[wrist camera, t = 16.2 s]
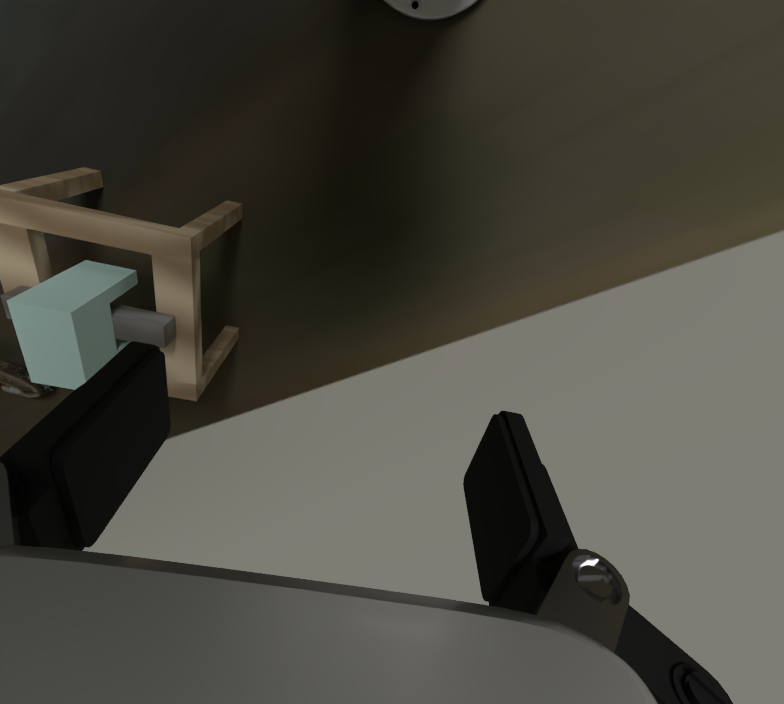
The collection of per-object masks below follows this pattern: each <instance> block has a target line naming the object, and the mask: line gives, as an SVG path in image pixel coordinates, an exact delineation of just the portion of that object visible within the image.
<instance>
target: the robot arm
mask: <svg viewBox="0 0 784 704" xmlns="http://www.w3.org/2000/svg"><path fill="white" fill-rule="evenodd" d="M383 1H384V2H385V3H386V4H387V5H388V6H390V7H391V8H393V9H394V10H396V11H397V12H399V13H401V14H402V15H405V16H408V17H411V18H414V19H418V20H428V21H433V20H440V19H446V18H449V17H451V16H454V15H456V14H459V13H461V12H463V11H464V10H466V9H467V8H469V7H470V6H472V5H473V4H475V3H476V2H477V1H478V0H383ZM413 2H417V3H418V8H417V9H413V8H412V3H413ZM169 431H170V412H169V400H168V388H167V375H166V363H165V355H164V353H163V352H161V351H159V348H158V347H157V346H156V345H153V344H147V343H142V342H137V341H132V342H130V343H129V344H127V345H126V346H125V347H124V348H123V349H122V350H121V351H120V352H119V353H118V354H116V355H115V356H114V357H113V358H112V359H111V360H110V361H109V362H108V363H106V364H105V365H104V366H103V367H102V368H101V369H100V370H99V371H98V372H96V373H95V374H94V375H93V376H92V377H91V378H90V379H89V380H88V381H87V382H85V383H84V384H82V385H81V386H79V387H78V388H77V389H76V390H74V391H73V392H72V393H71V394H70V395H69V396H68V397H67V398H65V399H64V400H63V401H62V402H61V403H60V404H59V405H58V406H57V407H55V408H54V409H53V410H52V411H51V412H50V413H49V414H48V415H47V416H45V417H44V418H43V419H42V420H41V421H40V422H39V423H38V424H37V425H35V426H34V427H33V428H32V429H31V430H30V431H29V432H28V433H27V434H25V435H24V436H23V437H22V438H21V439H20V440H19V441H18V442H16V443H15V444H14V445H13V446H12V447H11V448H10V449H9V450H8V451H6V452H5V453H4V454H3V455H2V456H1V457H0V704H733V703H732V701H731V700H730V698H729V696H728V694H727V693H726V692H725V690H724V689H723V688H722V686H721V685H720V684H719V682H718V681H717V680H716V679H715V678H714V677H713V676H712V675H711V674H710V673H709V672H708V671H707V670H705V669H704V668H703V667H702V666H700V665H699V664H698V663H697V662H696V661H695V660H694V659H692V658H691V657H690V656H689V655H688V654H687V653H685V652H684V651H683V650H682V649H681V648H679V647H678V646H677V645H676V644H674V642H672V641H671V640H670V639H669V638H668V637H666V636H665V635H664V634H663V633H662V632H661V631H659V630H658V629H657V628H656V627H655V626H653V625H652V624H651V623H650V622H649V621H647V620H646V619H645V618H644V617H643V616H642V615H640V614H639V613H638V612H637V611H636V610H634V609H633V608H632V607H631V606H630V605H629V597H630V595H629V591H628V587H627V585H626V583H625V581H624V579H623V577H622V575H621V574H620V573H619V572H618V571H617V569H616V568H615V567H614V566H613V565H612V564H611V563H610V562H608V561H607V560H606V559H605V558H603V557H602V556H600V555H599V554H597V553H595V552H592V551H589V550H587V549H578V547H577V544H576V542H575V539H574V537H573V534H572V532H571V529H570V527H569V524H568V522H567V519H566V517H565V514H564V512H563V509H562V507H561V504H560V502H559V499H558V497H557V494H556V492H555V489H554V487H553V485H552V482H551V479H550V477H549V475H548V472H547V470H546V468H545V466H544V465H543V464H542V463H541V460H540V458H539V456H538V453H537V450H536V448H535V445H534V443H533V440H532V438H531V435H530V433H529V430H528V428H527V425H526V423H525V420H524V418H523V416H522V415H521V414H517V413H512V412H507V411H501V412H500V413H499V414H498V415H496V414H494V415H493V417H492V418H491V420H490V423H489V425H488V427H487V429H486V431H485V433H484V435H483V437H482V440H481V442H480V444H479V446H478V448H477V450H476V453H475V455H474V457H473V459H472V461H471V463H470V465H469V467H468V469H467V472H466V474H465V477H464V484H463V485H464V492H465V498H466V504H467V510H468V516H469V522H470V528H471V534H472V539H473V545H474V551H475V557H476V563H477V569H478V574H479V581H480V586H481V592H482V597H483V599H484V600H485V601H488V602H489V606H487V605H480V604H475V603H468V602H462V601H456V600H450V599H443V598H436V597H429V596H422V595H415V594H407V593H400V592H393V591H386V590H379V589H372V588H365V587H357V586H350V585H343V584H336V583H328V582H321V581H313V580H306V579H299V578H291V577H284V576H276V575H268V574H261V573H254V572H246V571H239V570H231V569H224V568H216V567H208V566H200V565H193V564H185V563H177V562H170V561H162V560H153V559H146V558H139V557H131V556H122V555H114V554H105V553H94V552H86V551H82V550H83V549H84V547H90V546H92V545H93V544H94V543H95V542H96V541H97V539H98V538H99V536H100V535H101V533H102V532H103V530H104V529H105V527H106V526H107V524H108V523H109V521H110V520H111V519H112V517H113V516H114V514H115V513H116V511H117V510H118V508H119V506H120V505H121V504H122V502H123V501H124V500H125V498H126V497H127V495H128V493H129V492H130V491H131V489H132V488H133V486H134V485H135V484H136V482H137V480H138V479H139V478H140V476H141V475H142V473H143V472H144V470H145V469H146V467H147V466H148V464H149V463H150V461H151V460H152V459H153V457H154V456H155V454H156V453H157V451H158V450H159V448H160V447H161V445H162V444H163V443H164V441H165V440H166V438H167V436H168V434H169Z"/></svg>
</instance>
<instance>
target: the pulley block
mask: <svg viewBox="0 0 784 704" xmlns="http://www.w3.org/2000/svg"><path fill="white" fill-rule="evenodd" d="M0 383H2V385H1V388H2V389H3V390H4V391H6V392H8V393H14V394H17V395H21V396H25V397H40V396H43V395H44V394H46V393H47V392H48V391H52V389H51V388H50V385H45V384H39V383H33V382H31V379H30V376H29V373H28V370H26V369H24V368H22V367H20V366H17V365H15V364H12V363H9V362H6V361H2V360H0ZM53 391H54V390H53Z"/></svg>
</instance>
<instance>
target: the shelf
mask: <svg viewBox="0 0 784 704" xmlns="http://www.w3.org/2000/svg"><path fill="white" fill-rule="evenodd" d="M102 187H103V182H102V175H101V171H99V170H94V169H90V168H86V167H83V168H79V169H74V170H69V171H65V172H60V173H55V174H51V175H46V176H41V177H37V178H32V179H27V180H23V181H18V182H13V183H9V184H4V185H0V280H1V283H2V286H3V290H4V294H2V295H0V296H1V299H2V302H3V305H4V309H5V312H6V315H7V318H9V319H12V317H11V314H10V311H9V307H8V304H7V300H9V299H11V298H13V297H15V296H17V295H19V294H21V293H22V292H24V291H26V290H28V289H30V288H32V287H34V286H36V285H38V284H40V283H42V282H44V281H46V280H48V279H50V278H52V277H53V274H52V269H51V265H50V261H49V256H48V252H47V247H46V243H45V239H44V234H43V232H46V233H51V234H56V235H60V236H65V237H70V238H74V239H79V240H84V241H89V242H93V243H98V244H103V245H108V246H112V247H117V248H122V249H126V250H131V251H136V252H141V253H145V254H150V255H152V266H153V277H154V288H155V300H156V311H157V312H154V311H149V310H144V309H139V308H134V307H129V306H124V305H120V304H115V303H109V304H110V310H111V316H112V322H113V329H114V335H115V339H120V340H125V341H131V342H132V341H137V342H142V343H147V344H153V345H156V346H157V347H160V351H161V352H163V353H164V355H165V363H166V375H167V388H168V396H169V397H175V398H181V399H186V400H192V401H197V400H198V399H199V397H200V396H201V394H202V393H203V391H204V390H205V388H206V387H207V385H208V384H209V382H210V381H211V379H212V378H213V376H214V375H215V373H216V372H217V370H218V369H219V367H220V366H221V364H222V363H223V361H224V360H225V358H226V357H227V355H228V354H229V352H230V351H231V349H232V348H233V346H234V345H235V343H236V342H237V340H238V339H239V328H237V327H232V326H227V325H226V326H225V327H224V329H223V330H222V331H221V333H220V334H219V335H218V336H217V338H216V339H215V340H214V342H213V343H212V344H211V346H210V347H209V348H208V350H207V351H206V352H205V354H204V355H203V356H202V330H201V290H200V250H202V249H203V248H204V247H205V246H207V245H208V244H209V243H211V242H212V241H213V240H215V239H216V238H217V237H219V236H220V235H221V234H223V233H224V232H225V231H227V230H228V229H229V228H230V227H232V226H233V225H234V224H236V223H237V222H238V221H240V220H241V219H242V210H243V204H242V203H238V202H234V201H229V200H227V201H225V202H223V203H222V204H220V205H218V206H217V207H215V208H213V209H211V210H210V211H208V212H206V213H205V214H203V215H201V216H199V217H198V218H196V219H194V220H193V221H191V222H189V223H188V224H186V225H184V226H182V227H181V228H176V227H171V226H166V225H162V224H157V223H153V222H148V221H144V220H139V219H135V218H130V217H125V216H121V215H116V214H112V213H107V212H103V211H98V210H94V209H89V208H85V207H80V206H75V205H71V204H66V203H62V202H57V201H58V200H61V199H65V198H68V197H71V196H75V195H78V194H82V193H85V192H88V191H92V190H95V189H99V188H102Z"/></svg>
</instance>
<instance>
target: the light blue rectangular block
mask: <svg viewBox="0 0 784 704" xmlns="http://www.w3.org/2000/svg"><path fill="white" fill-rule="evenodd" d="M136 284H138V281H137V272H136V270H132V269H127V268H122V267H118V266H113V265H108V264H103V263H98V262H93V261H88V260H85V261H83V262H81V263H79V264H77V265H75V266H73V267H71V268H69V269H67V270H65V271H63V272H62V273H60V274H58V275H56V276H54V277H52V278H50V279H48V280H46V281H44V282H42V283H40V284H38V285H36V286H34V287H32V288H30V289H28V290H26V291H24V292H22V293H21V294H19V295H17V296H15V297H13V298H11V299H9V300H7V304H8V307H9V311H10V314H11V317H12V320H13V324H14V327H15V330H16V333H17V337H18V340H19V343H20V346H21V350H22V353H23V356H24V360H25V363H26V366H27V369H28V373H29V376H30V379H31V382H33V383H39V384H45V385H50V386H56V387H62V388H68V389H74V390H76V389H77V388H78V387H79V386H81V385H82V384H84V383H85V382H87V381H88V380H89V379H90V378H91V377H92V376H93V375H94V374H95V373H96V372H98V371H99V370H100V369H101V368H102V367H103V366H104V365H105V364H106V363H108V362H109V361H110V360H111V359H112V358H113V357H114V356H115V355H116V354H118V353H119V352H120V351H121V350H122V349H123V348H124V347H125V346H126V345H127V344H129V343H130V342H131V341H125V340H120V339H115V335H114V329H113V322H112V316H111V310H110V304H109V303H111V302H112V301H114V300H115V299H116V298H118V297H119V296H121V295H122V294H124V293H125V292H126V291H128V290H129V289H131V288H132V287H134V286H135V285H136Z"/></svg>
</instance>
